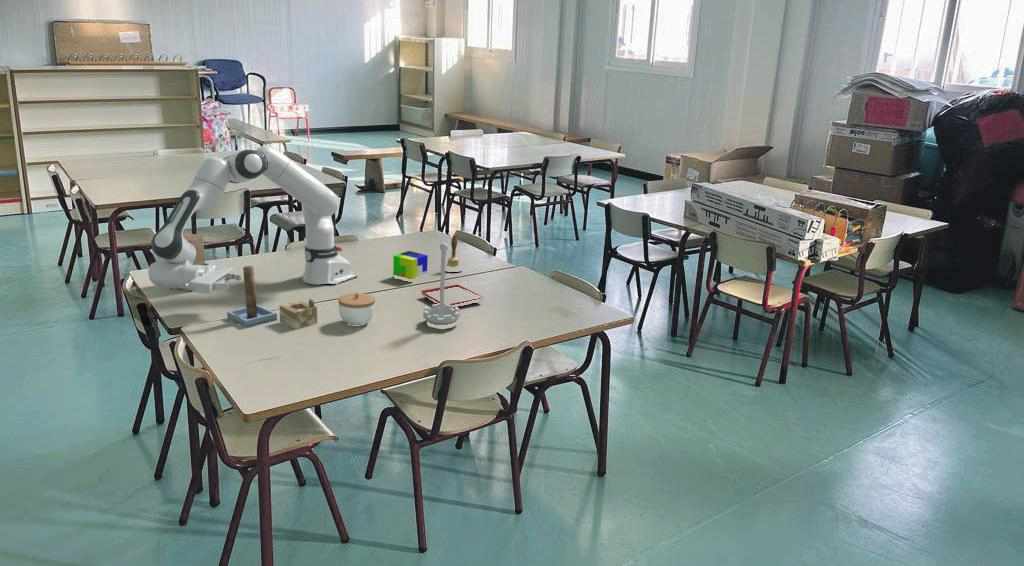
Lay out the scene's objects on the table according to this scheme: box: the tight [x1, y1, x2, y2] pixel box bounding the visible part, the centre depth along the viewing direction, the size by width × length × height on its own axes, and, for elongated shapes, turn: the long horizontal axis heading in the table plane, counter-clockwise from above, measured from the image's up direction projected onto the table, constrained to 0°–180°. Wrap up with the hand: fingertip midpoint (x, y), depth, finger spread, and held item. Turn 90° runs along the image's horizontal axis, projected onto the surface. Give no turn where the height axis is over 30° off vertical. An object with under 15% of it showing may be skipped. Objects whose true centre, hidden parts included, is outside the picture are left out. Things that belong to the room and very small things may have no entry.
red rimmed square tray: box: [420, 284, 484, 306], centre depth 306 cm, size 18×18×3 cm
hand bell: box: [446, 234, 460, 267], centre depth 343 cm, size 8×8×16 cm
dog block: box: [279, 298, 318, 330], centre depth 274 cm, size 9×9×8 cm
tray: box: [226, 303, 278, 329], centre depth 275 cm, size 12×12×2 cm
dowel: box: [242, 265, 257, 319], centre depth 273 cm, size 3×3×18 cm
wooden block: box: [169, 232, 206, 292], centre depth 301 cm, size 10×10×20 cm
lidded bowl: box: [337, 292, 376, 325], centre depth 276 cm, size 13×13×11 cm
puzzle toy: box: [392, 250, 429, 279], centre depth 330 cm, size 10×10×10 cm
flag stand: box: [422, 242, 461, 325], centre depth 278 cm, size 13×13×30 cm
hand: (235, 281), depth 272 cm, fingers open, 8 cm apart
